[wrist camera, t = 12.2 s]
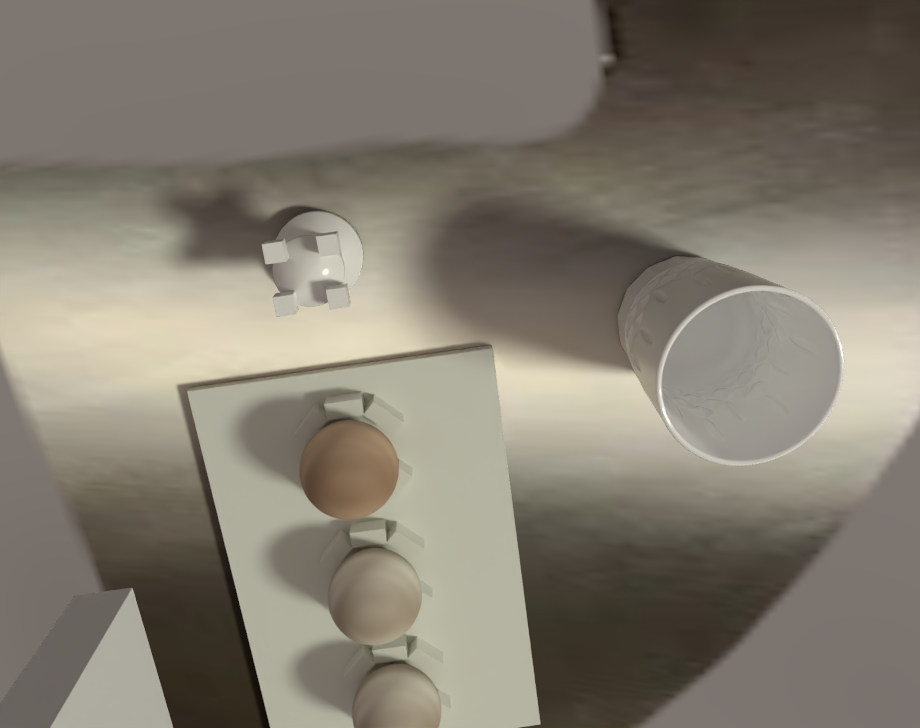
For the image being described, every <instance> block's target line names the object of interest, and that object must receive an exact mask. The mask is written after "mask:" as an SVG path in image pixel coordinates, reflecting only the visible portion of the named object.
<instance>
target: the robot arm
mask: <svg viewBox="0 0 920 728" xmlns="http://www.w3.org/2000/svg"><path fill="white" fill-rule="evenodd" d="M0 728H173V726H172V722H171V719H170V716H169V712H168V709H167V705H166V702H165V698H164V695H163V692H162V688H161V685H160V681H159V678H158V674H157V671H156V668H155V664H154V661H153V657H152V654H151V650H150V647H149V644H148V640H147V637H146V633H145V630H144V626H143V623H142V619H141V616H140V613H139V609H138V606H137V602H136V599H135V595H134V592H133V589H132V588H127V589H120V590H113V591H106V592H99V593H92V594H85V595H78V596H74V597H73V599H72V600H71V602H70V603H69V605H68V606H67V607H66V609H65V610H64V612H63V613H62V615H61V616H60V618H59V619H58V620H57V622H56V623H55V625H54V626H53V628H52V629H51V630H50V632H49V633H48V635H47V636H46V638H45V639H44V641H43V642H42V643H41V645H40V647H39V648H38V649H37V651H36V652H35V654H34V655H33V657H32V658H31V659H30V661H29V662H28V664H27V665H26V667H25V668H24V669H23V671H22V672H21V674H20V675H19V677H18V678H17V680H16V681H15V682H14V684H13V685H12V687H11V688H10V690H9V691H8V693H7V694H6V695H5V697H4V698H3V700H2V701H1V703H0Z"/></svg>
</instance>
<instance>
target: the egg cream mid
mask: <svg viewBox="0 0 920 728" xmlns="http://www.w3.org/2000/svg"><path fill="white" fill-rule="evenodd" d="M421 602H422V590H421V584H420V580H419V578H418V575H417V573H416V571H415V569H414V568H413V567H412V565H411V564H410V563H409V562H408V561H407V560H406V559H405V558H404V557H402V556H401V555H399V554H397V553H396V552H393V551H391V550H387V549H382V548H370V549H365V550H362V551H359V552H357V553H354V554H353V555H351V556H349V557H348V558H347V559H346V560H344V561H343V562H342V563H341V564H340V566H339V567H338V568H337V570H336V571H335V573H334V575H333V577H332V579H331V582H330V585H329V590H328V606H329V611H330V614H331V617H332V619H333V621H334V623H335V624H336V626H337V627H338V628H339V630H340V631H341V632H342V633H343V634H344V635H345V636H347V637H348V638H350V639H352V640H354V641H356V642H358V643H361V644H365V645H382V644H386V643H389V642H392V641H394V640H396V639H398V638H399V637H401V636H402V635H403V634H405V633H406V632H407V631H408V630H409V629H410V627H411V626H412V625H413V623H414V622H415V620H416V618H417V616H418V613H419V611H420V607H421Z"/></svg>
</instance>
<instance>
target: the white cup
mask: <svg viewBox="0 0 920 728" xmlns="http://www.w3.org/2000/svg"><path fill="white" fill-rule="evenodd" d="M617 319H618V328H619V337H620V344H621V346H622V347H623V349H624V350H625V352H626V354H627V355H628V357H629V360H630V363H631V366H632V368H633V370H634V372H635V374H636V376H637V378H638V379H639V381H640V383H641V385H642V387H643V389H644V391H645V393H646V394H647V396H648V397H649V399H650V400H651V402H652V404H653V405H654V407H655V408H656V410H657V412H658V413H659V415H660V417H661V418H662V420H663V422H664V423H665V425H666V427H667V428H668V430H669V431H670V433H671V434H672V435H673V437H674V438H675V439H676V440H677V441H678V442H679V443H680V444H681V445H682V446H683V447H685V448H686V449H687V450H689V451H690V452H692V453H693V454H695V455H697V456H699V457H701V458H703V459H705V460H708V461H711V462H714V463H718V464H723V465H732V466H746V465H754V464H760V463H764V462H768V461H771V460H774V459H776V458H779V457H781V456H783V455H785V454H787V453H789V452H791V451H793V450H794V449H796V448H797V447H799V446H800V445H802V444H803V443H804V442H806V441H807V440H808V439H809V438H810V437H811V436H812V435H813V434H814V433H815V432H816V431H817V430H818V429H819V428H820V427H821V426H822V424H823V423H824V422H825V420H826V419H827V418H828V416H829V415H830V413H831V411H832V409H833V407H834V405H835V403H836V401H837V399H838V396H839V393H840V390H841V386H842V382H843V376H844V353H843V348H842V343H841V340H840V337H839V334H838V332H837V330H836V328H835V326H834V324H833V323H832V321H831V320H830V318H829V317H828V315H827V314H826V313H825V312H824V311H823V310H822V309H821V308H820V307H819V306H818V305H817V304H816V303H814V302H813V301H812V300H810V299H809V298H807V297H805V296H804V295H802V294H800V293H798V292H795V291H793V290H790V289H788V288H785V287H783V286H780V285H778V284H776V283H773V282H771V281H768V280H766V279H764V278H761V277H759V276H756V275H754V274H751V273H749V272H746V271H743V270H740V269H737V268H734V267H732V266H729V265H725V264H721V263H716V262H714V261H711V260H709V259H707V258H701V257H683V256H675V257H672V258H670V259H667V260H665V261H662V262H660V263H657V264H655V265H652V266H650V267H648V268H647V269H646V270H645V271H644V272H643V273H642V274H641V275H640V276H639V277H638V278H637V279H636V280H635V281H634V282H633V283H632V284H631V285H630V286H629V287H628V288H627V290H626V293H625V296H624V299H623V301H622V304H621V307H620V310H619V313H618V315H617Z"/></svg>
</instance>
